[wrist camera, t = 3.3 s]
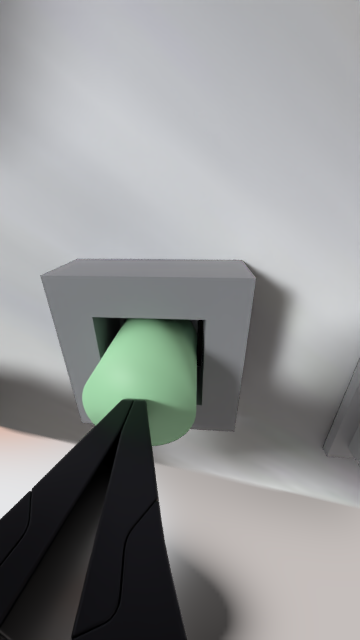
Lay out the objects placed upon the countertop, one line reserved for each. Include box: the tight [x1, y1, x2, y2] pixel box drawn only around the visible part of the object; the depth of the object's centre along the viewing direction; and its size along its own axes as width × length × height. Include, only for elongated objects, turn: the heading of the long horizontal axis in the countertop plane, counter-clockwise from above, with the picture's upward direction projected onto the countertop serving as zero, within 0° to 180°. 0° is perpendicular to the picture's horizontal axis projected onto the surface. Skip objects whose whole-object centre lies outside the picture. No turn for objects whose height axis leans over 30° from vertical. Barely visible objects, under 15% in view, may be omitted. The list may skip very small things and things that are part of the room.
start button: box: [82, 318, 197, 446], centre depth 10 cm, size 4×4×5 cm
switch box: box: [40, 259, 256, 431], centre depth 12 cm, size 8×8×3 cm
